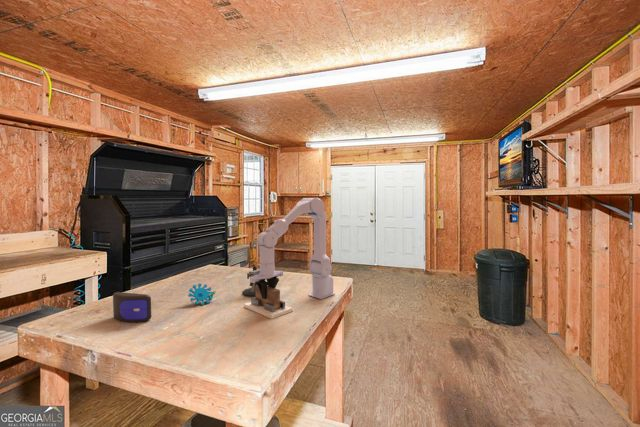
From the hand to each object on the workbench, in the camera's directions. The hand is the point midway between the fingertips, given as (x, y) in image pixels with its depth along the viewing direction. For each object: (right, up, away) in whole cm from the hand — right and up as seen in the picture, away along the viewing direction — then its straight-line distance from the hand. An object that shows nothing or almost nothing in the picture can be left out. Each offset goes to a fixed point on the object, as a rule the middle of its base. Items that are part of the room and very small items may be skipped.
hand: (267, 297), depth 114 cm
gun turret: (-8, -4, +24) cm, 26 cm away
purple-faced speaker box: (-48, -6, -8) cm, 49 cm away
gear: (-29, -5, +8) cm, 30 cm away
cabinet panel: (0, -5, 0) cm, 5 cm away
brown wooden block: (0, -3, 0) cm, 3 cm away
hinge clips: (0, -3, 0) cm, 3 cm away
